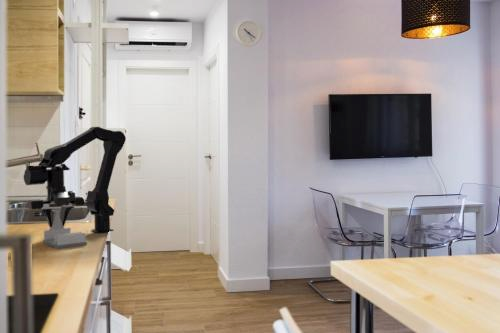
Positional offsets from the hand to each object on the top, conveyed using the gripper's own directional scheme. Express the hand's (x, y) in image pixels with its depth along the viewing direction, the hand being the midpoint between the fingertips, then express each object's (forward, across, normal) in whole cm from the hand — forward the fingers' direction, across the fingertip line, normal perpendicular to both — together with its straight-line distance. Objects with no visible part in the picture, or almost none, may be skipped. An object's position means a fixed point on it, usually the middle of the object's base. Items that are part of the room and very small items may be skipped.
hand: (56, 226), depth 191 cm
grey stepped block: (+4, -2, -13) cm, 14 cm away
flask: (+4, 0, 0) cm, 4 cm away
